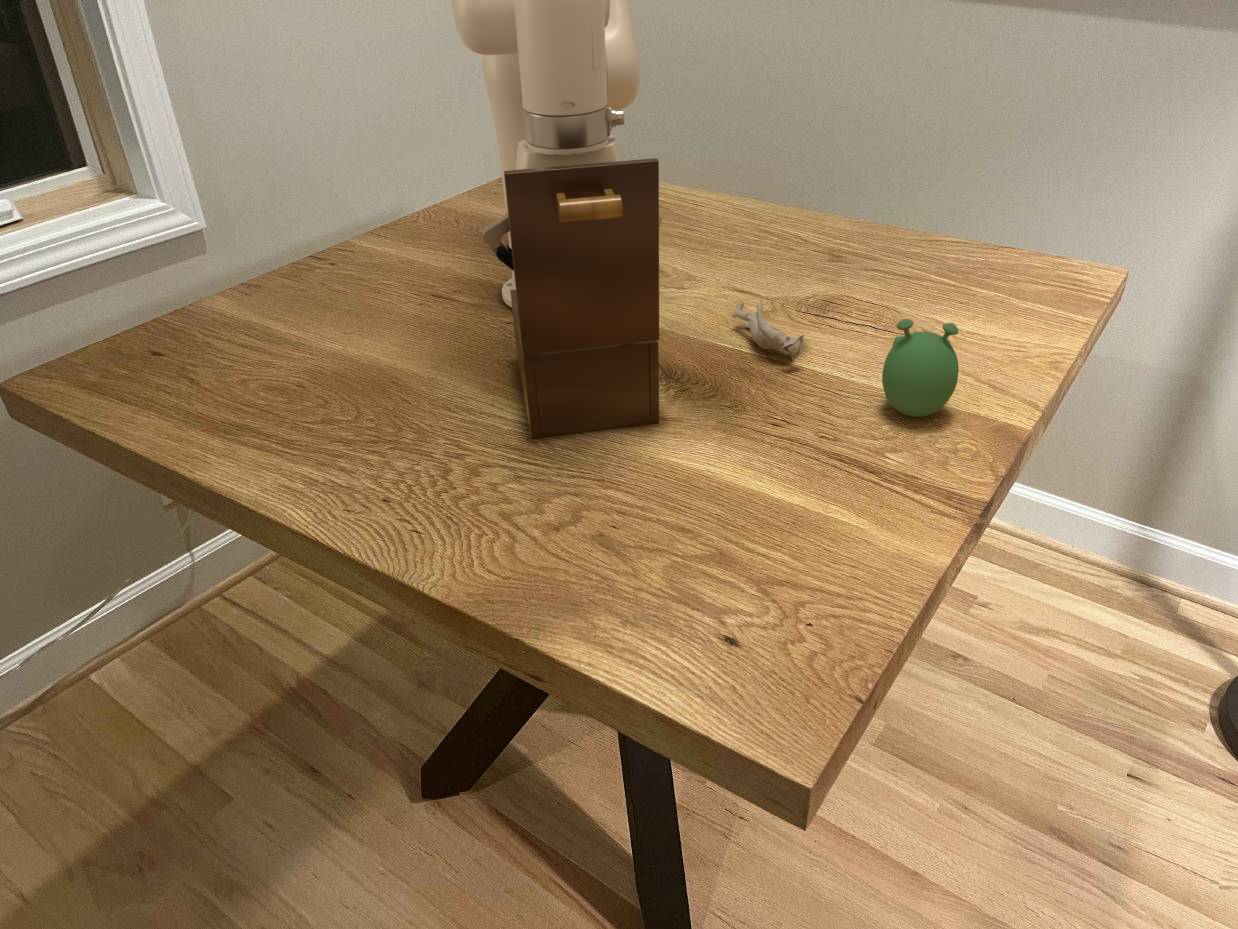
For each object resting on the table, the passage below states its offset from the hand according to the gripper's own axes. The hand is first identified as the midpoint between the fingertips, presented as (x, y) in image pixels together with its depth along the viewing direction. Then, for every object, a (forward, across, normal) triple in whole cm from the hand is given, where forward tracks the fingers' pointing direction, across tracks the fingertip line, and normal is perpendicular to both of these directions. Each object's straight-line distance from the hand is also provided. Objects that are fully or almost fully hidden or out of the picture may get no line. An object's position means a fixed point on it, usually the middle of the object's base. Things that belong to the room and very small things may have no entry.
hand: (577, 302), depth 91 cm
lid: (-8, 0, +9) cm, 12 cm away
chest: (+10, 0, +1) cm, 10 cm away
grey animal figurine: (+10, -22, -4) cm, 24 cm away
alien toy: (+10, -32, +13) cm, 36 cm away
